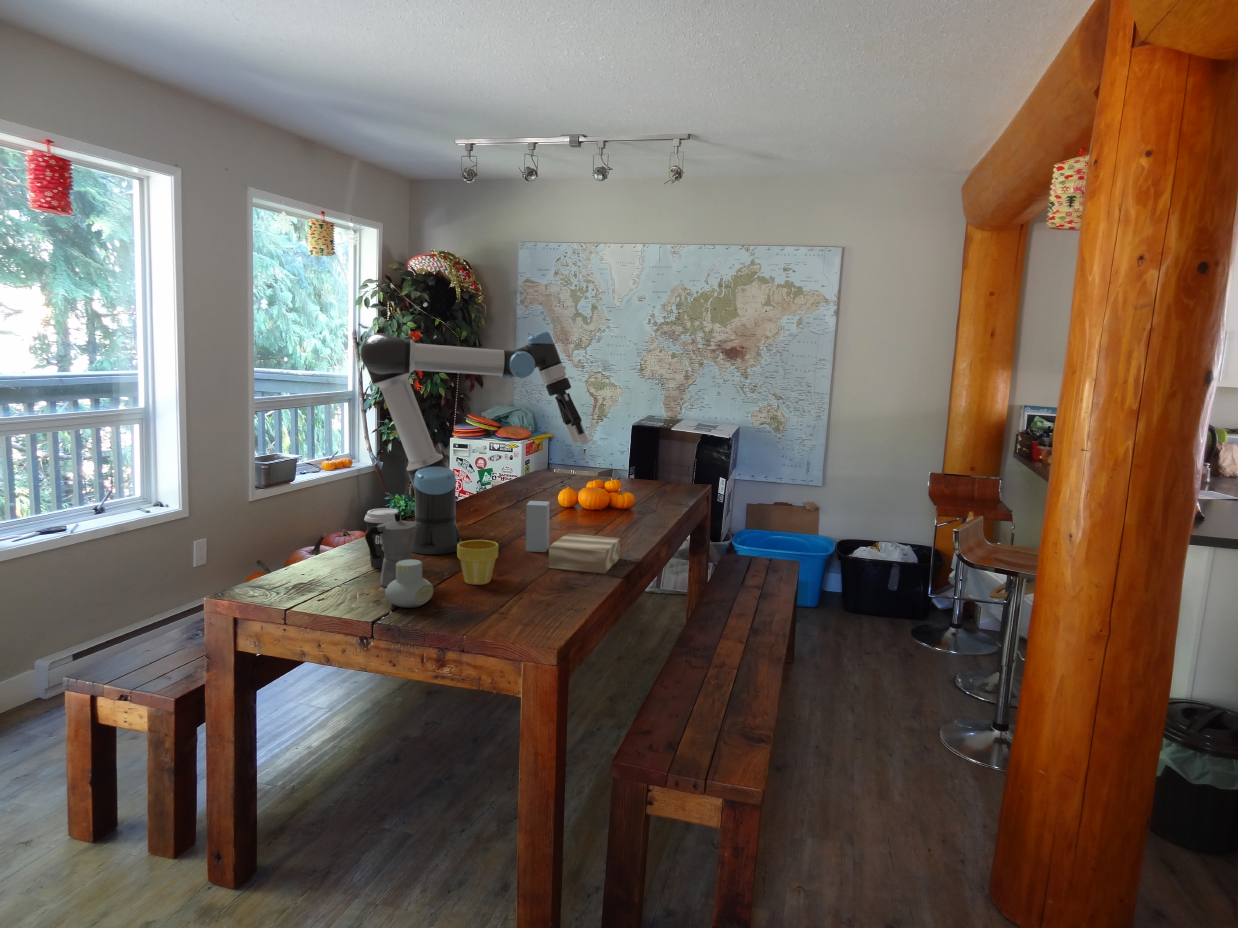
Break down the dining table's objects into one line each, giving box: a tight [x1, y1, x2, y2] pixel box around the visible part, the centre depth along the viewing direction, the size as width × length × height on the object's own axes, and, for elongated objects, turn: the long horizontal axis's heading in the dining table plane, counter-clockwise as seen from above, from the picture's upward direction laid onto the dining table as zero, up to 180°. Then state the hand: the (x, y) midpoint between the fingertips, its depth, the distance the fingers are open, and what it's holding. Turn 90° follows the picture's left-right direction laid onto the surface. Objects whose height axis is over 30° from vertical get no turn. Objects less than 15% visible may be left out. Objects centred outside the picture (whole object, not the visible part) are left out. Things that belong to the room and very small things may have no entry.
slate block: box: [525, 500, 551, 553], centre depth 234 cm, size 6×6×14 cm
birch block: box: [548, 533, 621, 574], centre depth 221 cm, size 16×16×6 cm
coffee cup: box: [363, 507, 402, 570], centre depth 213 cm, size 10×10×15 cm
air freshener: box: [384, 559, 434, 609], centre depth 183 cm, size 11×8×10 cm
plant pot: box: [456, 539, 500, 586], centre depth 202 cm, size 10×10×10 cm
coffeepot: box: [364, 512, 421, 588], centre depth 197 cm, size 15×9×18 cm, turn 137°
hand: (580, 443), depth 250 cm, fingers open, 13 cm apart
